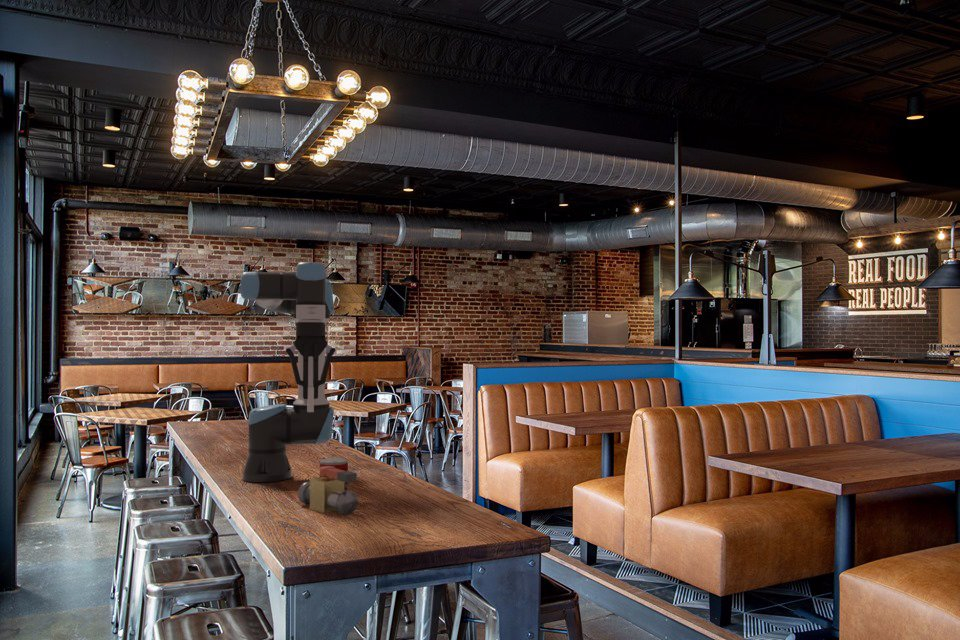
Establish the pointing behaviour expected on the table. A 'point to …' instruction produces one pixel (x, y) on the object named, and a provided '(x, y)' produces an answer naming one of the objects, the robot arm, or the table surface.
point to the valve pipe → (327, 496)
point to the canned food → (336, 466)
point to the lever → (338, 474)
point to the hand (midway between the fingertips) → (310, 411)
